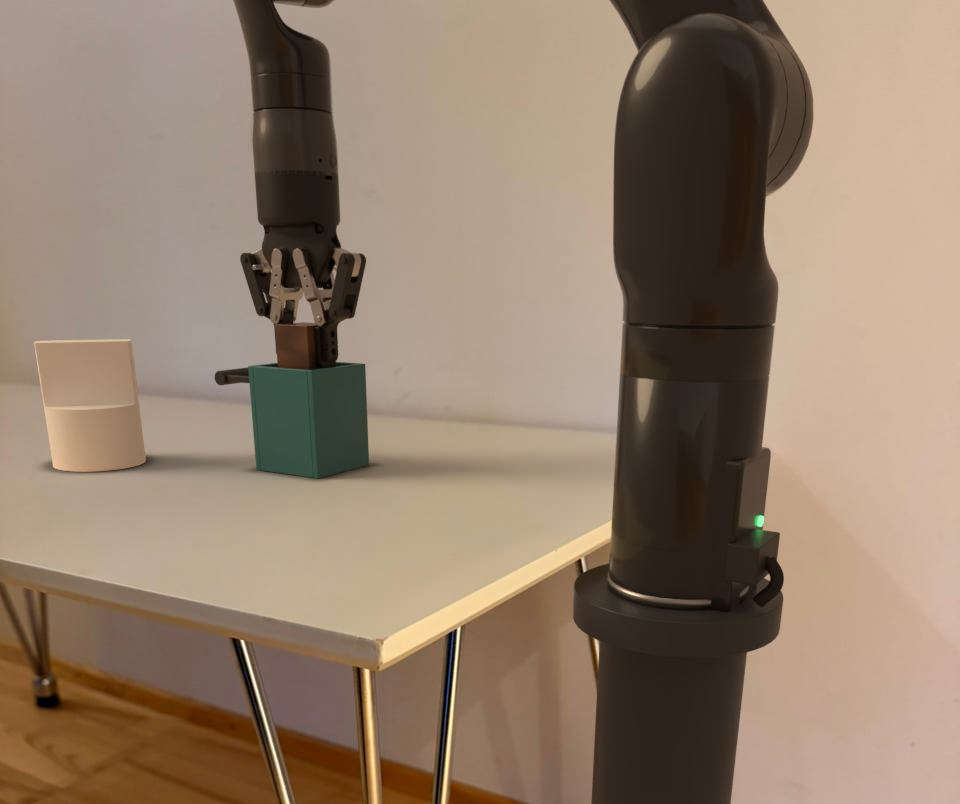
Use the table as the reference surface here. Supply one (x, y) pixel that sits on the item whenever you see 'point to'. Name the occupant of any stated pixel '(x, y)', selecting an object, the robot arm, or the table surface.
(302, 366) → the block
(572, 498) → the table surface
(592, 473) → the table surface
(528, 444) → the table surface
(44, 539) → the table surface
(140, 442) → the base with upright slab
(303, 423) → the teal open storage bin
